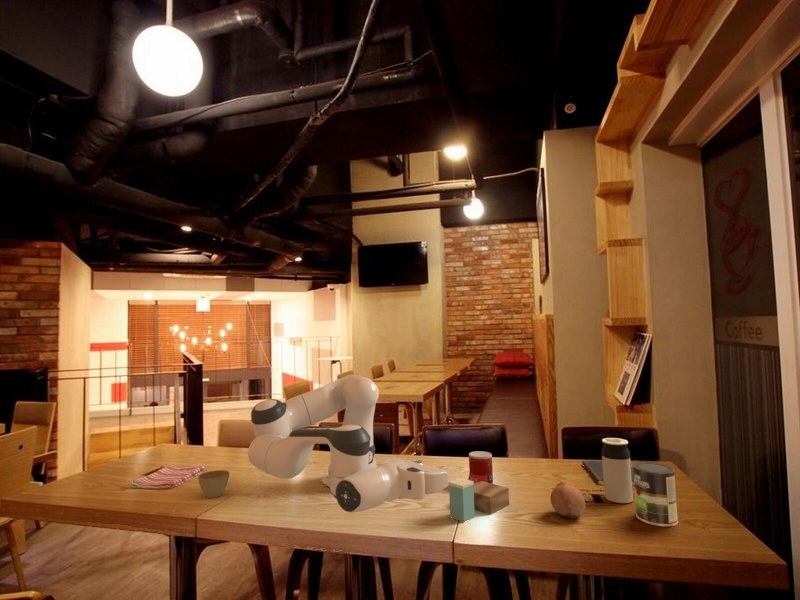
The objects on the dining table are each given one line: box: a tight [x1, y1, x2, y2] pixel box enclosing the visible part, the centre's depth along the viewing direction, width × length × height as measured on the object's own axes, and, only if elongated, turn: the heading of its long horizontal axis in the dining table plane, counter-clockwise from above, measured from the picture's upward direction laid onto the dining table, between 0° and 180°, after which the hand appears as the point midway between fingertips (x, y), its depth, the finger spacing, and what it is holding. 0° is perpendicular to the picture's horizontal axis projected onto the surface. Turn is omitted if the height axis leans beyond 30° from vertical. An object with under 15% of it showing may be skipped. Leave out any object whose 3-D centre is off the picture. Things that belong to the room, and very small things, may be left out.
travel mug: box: [601, 437, 634, 504], centre depth 138 cm, size 8×8×18 cm
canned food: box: [468, 450, 494, 485], centre depth 153 cm, size 8×8×11 cm
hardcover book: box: [581, 460, 635, 487], centre depth 161 cm, size 16×23×2 cm
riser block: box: [473, 481, 510, 516], centre depth 136 cm, size 10×10×5 cm
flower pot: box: [197, 469, 230, 499], centre depth 152 cm, size 10×10×7 cm
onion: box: [549, 481, 586, 520], centre depth 127 cm, size 10×9×10 cm
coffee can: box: [632, 461, 679, 528], centre depth 123 cm, size 10×10×14 cm
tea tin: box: [448, 477, 476, 523], centre depth 128 cm, size 5×5×10 cm
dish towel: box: [130, 465, 207, 490], centre depth 172 cm, size 17×23×4 cm
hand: (432, 466), depth 120 cm, fingers open, 8 cm apart
